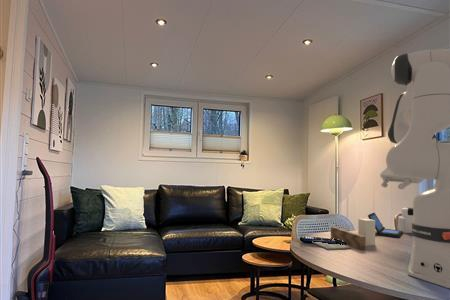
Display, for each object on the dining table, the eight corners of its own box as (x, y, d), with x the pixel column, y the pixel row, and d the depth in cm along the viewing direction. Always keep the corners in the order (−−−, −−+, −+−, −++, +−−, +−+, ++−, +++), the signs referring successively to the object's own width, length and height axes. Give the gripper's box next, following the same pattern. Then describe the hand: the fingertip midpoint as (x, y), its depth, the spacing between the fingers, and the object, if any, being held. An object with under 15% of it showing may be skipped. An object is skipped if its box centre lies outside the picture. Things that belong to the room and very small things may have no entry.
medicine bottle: (412, 230, 161) (412, 207, 161) (420, 233, 153) (419, 209, 154) (398, 230, 161) (397, 206, 162) (404, 233, 154) (404, 208, 155)
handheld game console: (398, 238, 142) (398, 218, 142) (367, 234, 150) (367, 215, 150) (403, 233, 154) (403, 214, 155) (373, 229, 162) (373, 211, 163)
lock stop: (375, 245, 128) (375, 220, 128) (365, 245, 126) (365, 220, 127) (367, 242, 132) (367, 218, 132) (358, 242, 131) (358, 218, 131)
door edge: (365, 249, 120) (365, 236, 120) (360, 249, 119) (360, 236, 119) (334, 238, 139) (334, 226, 139) (330, 238, 139) (330, 226, 139)
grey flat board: (350, 248, 120) (350, 246, 120) (327, 250, 118) (327, 247, 118) (332, 241, 132) (332, 238, 132) (311, 242, 130) (311, 239, 130)
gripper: (387, 159, 146) (370, 180, 143) (426, 159, 126) (406, 183, 123) (395, 169, 147) (378, 190, 144) (434, 170, 127) (415, 194, 124)
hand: (391, 187), depth 134 cm, fingers open, 8 cm apart
